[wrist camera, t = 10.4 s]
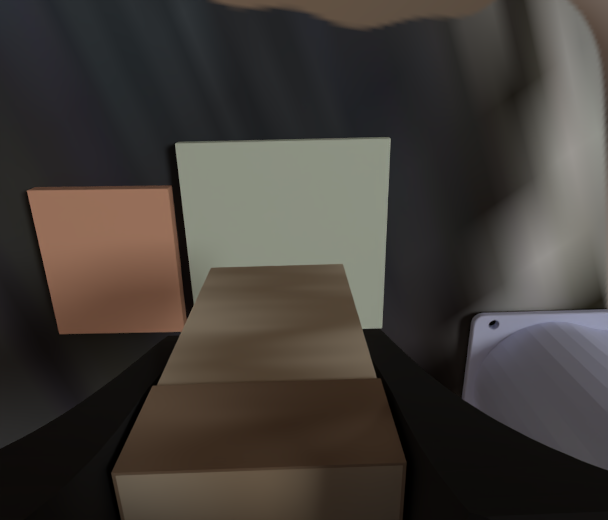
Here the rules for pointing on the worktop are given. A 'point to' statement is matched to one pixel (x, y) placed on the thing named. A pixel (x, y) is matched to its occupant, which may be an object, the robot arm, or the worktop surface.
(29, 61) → the worktop surface
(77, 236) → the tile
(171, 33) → the worktop surface
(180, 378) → the brown wooden box
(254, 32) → the worktop surface
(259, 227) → the mat
